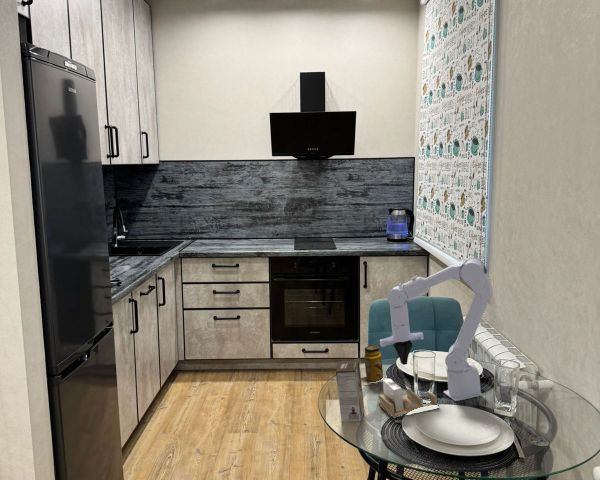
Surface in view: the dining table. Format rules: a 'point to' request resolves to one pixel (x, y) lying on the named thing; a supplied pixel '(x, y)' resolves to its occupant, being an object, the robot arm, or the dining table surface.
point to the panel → (393, 394)
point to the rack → (406, 403)
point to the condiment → (372, 365)
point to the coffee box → (350, 390)
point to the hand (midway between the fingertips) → (404, 363)
